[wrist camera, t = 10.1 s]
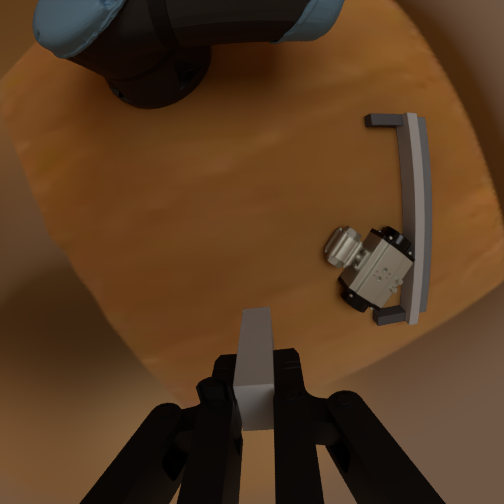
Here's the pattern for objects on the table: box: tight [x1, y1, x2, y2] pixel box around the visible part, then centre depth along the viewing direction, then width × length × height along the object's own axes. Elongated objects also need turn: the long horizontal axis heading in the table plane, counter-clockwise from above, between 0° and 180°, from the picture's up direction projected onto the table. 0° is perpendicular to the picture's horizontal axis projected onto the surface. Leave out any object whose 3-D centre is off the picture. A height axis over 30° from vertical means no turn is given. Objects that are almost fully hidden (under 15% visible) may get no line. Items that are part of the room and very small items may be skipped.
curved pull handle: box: [364, 113, 432, 326], centre depth 37 cm, size 30×10×4 cm, turn 7°
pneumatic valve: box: [324, 226, 415, 313], centre depth 38 cm, size 6×12×12 cm
